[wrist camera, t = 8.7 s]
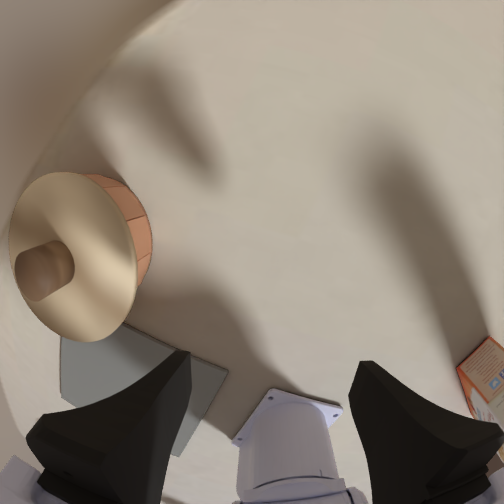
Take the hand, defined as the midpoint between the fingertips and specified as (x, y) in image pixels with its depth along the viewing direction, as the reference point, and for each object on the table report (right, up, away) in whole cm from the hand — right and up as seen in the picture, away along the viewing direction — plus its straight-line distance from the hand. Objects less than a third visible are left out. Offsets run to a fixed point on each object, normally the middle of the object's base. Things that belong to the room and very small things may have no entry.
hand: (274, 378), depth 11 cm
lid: (-13, +5, +5) cm, 15 cm away
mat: (-14, -9, +13) cm, 20 cm away
